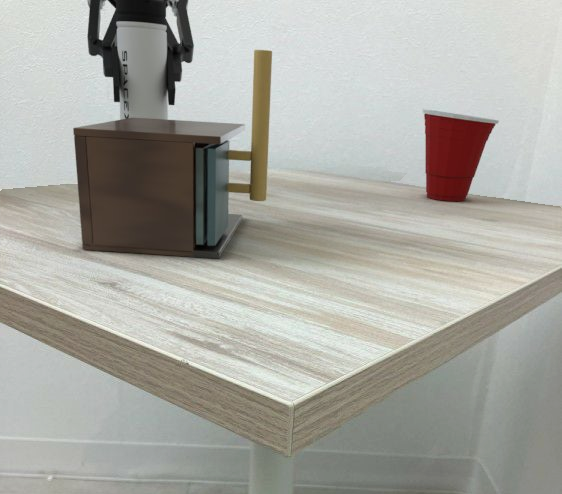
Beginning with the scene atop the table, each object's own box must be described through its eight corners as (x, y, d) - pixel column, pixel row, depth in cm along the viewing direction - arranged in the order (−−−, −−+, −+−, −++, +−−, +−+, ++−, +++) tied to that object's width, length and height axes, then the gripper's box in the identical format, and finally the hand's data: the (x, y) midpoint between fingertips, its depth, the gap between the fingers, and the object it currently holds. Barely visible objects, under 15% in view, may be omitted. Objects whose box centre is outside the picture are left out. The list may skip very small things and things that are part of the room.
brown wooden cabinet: (242, 219, 73) (245, 124, 69) (219, 258, 57) (220, 136, 53) (136, 212, 74) (132, 117, 70) (82, 249, 57) (72, 127, 53)
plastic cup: (493, 206, 91) (510, 115, 86) (417, 202, 91) (430, 111, 86) (474, 194, 101) (488, 112, 96) (405, 190, 101) (416, 108, 96)
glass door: (265, 229, 65) (273, 51, 58) (257, 248, 57) (265, 46, 50) (221, 226, 65) (223, 48, 58) (207, 245, 57) (207, 43, 50)
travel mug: (163, 158, 93) (161, -2, 84) (171, 164, 87) (170, -6, 79) (119, 157, 91) (112, -6, 82) (124, 163, 85) (117, -12, 77)
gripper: (202, -5, 96) (215, 120, 88) (66, -18, 91) (68, 113, 83) (207, -53, 89) (222, 78, 81) (61, -70, 84) (62, 67, 77)
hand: (144, 95), depth 82 cm, fingers closed on travel mug, 6 cm apart
